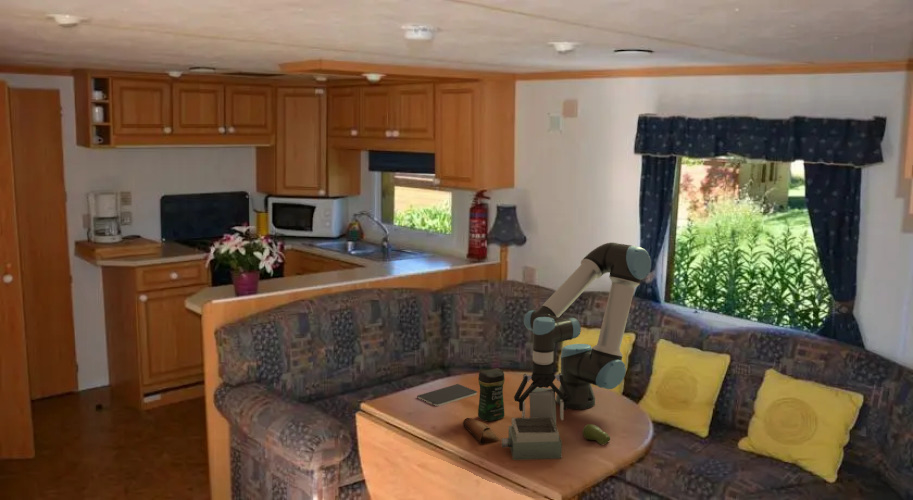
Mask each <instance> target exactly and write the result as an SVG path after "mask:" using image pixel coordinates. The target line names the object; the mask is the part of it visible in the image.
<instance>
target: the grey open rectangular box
mask: <svg viewBox="0 0 913 500" xmlns="http://www.w3.org/2000/svg"><path fill="white" fill-rule="evenodd" d="M562 443H563V440H562V439H561V437H560V432H559V429H558V427H557V424H556V425H555V422H554V420H553V418H552V417H530V416H528V417H526V416H525V417H522V416H521V417H511V425H509V426H508V437H503V438H501V447H502V448H510V449H509V450H510V453H511V457H512V460H513V461H517V460H519V461H521V460H523V461H525V460H554V459H555V460H558V459H559V460H560V459H562V456H563V455H562V453H563V452H562V451H563V450H562V448H563V446H562V445H563V444H562Z"/></svg>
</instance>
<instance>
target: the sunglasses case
mask: <svg viewBox="0 0 913 500" xmlns="http://www.w3.org/2000/svg"><path fill="white" fill-rule="evenodd" d="M462 425H463V427H465V429H466V430H467V431H469V433H470V434H471V435H472V436H473V437H474V438H475V439H476V440H477V442H479V444H481V445H482V446H483V445H489V444H494V443H499V442H502V439H501V438H500V437H499V436H498V435H497V434H496V433H495V431H493V430H492V428H491V427H490V426H489V425H488V424H487V423H486V422H482V421H479V420H477V419H475V418H471V417H466V418H465V419H464V420H463V422H462Z"/></svg>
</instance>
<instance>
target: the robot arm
mask: <svg viewBox="0 0 913 500" xmlns="http://www.w3.org/2000/svg"><path fill="white" fill-rule="evenodd" d="M651 269H652V260H651V256H650V254H649V252H648V251H647V250H646V249H645V248H642V247H639V246H637V245H632V244H623V243H618V242H607V243H604V244H601V245H599V246H597V247H596V248H594V249H592V250H591V251H590V252H589V253H588V254H586V255H585V257H584V258H582V259H581V261H580V265H579V267H577V269H576V270H574V272H573V273H572V274H571V275H570V276H569V277H568V278H567V279H566V280H565V281H564V282H563V283H562V284H561V285H560V286H559V287H558V288H557V289H556V291H554V292H553V293H552V294H551V296H549V297H548V299H547V300H546V301H545V302H544V303H543V304H542V305H541V306H540V307H539V308H538V309H537V310H536V309H535V310H529V311H527V312H526V313H525V316H524V317H523V324H524V326H525V328H526V329H527V330H529V331H530V332H532V367H531V368H532V373H531V374H527V373H524V374H523V376H522V381H521V382H520V384H519V387H518V388H517V390H516V393H515V395H514V396H513V399H514V401H515V402H518V407H519V408H518V410H519V412H521V417H526V402H525V401H526V400H527V398H528V397H529V393H531V392H532V391H533V390H534V389H536V387H537V388H549V387H550V388H551V389H553V390H554V391H555V403H556V404H557V405H558V406H559V418H560V420H561V421H564V411H567V409H569V410H585V409H590V408H592V407H594V406H595V405H596V396H595V393H594V390H593V386H597V387H599V388H601V389H606V390H613V389H616V388H617V387H618V386H619V385H621V384H622V382H623V380H624V378H625V377H626V373H627V372H626V371H627V368H626V364H625V362H623V361H622V359H623V355H624V354H623V353H622V351H621V345H622V343H623V339H624V334H625V329H626V325H627V322H628V317H629V313H630V309H631V304H632V300H633V298H634V297H633V296H634V292H635V289H636V287H638V286H640V284H641V283H642V282H641V281H642V280H644V279H646V278H647V277H648V275H650V272H651ZM608 273H609V280H610V281H611V286H610V290H609V294H608V298H607V301H606V306H605V310H604V315H603V319H602V322H601V326H600V332H599V335H598V339H597V343H596V344H595V345H594V346H592V345H591V344H586V343H574V344H573V343H572V344H568V345H565V346H563V347H562V348H561V351H560V352H561V354H560V372H559V373H558V374H555V363H554V362H555V344H557V343H561V342H566V341H571V340H573V339H576V338H579V336H580V335H581V332H582V329H581V328H582V326H581V323H580V322H579V320H578V319H577V318H576V317H566V318H562V317H560V316H562V314H564V313H565V311H567V309H569V307H570V306H572V304H573V303H574V302H575V301H576V300H577V299H578V298H579V297H580V296H581V294H583V292H585V290H586V289H587V288H588V287H589V286H590V285H591V284H592V283H593V282H594V281H595V280H596V279H600V278H601V277H602V276H603V275H605V274H608ZM530 380H531V381H532V382H531V383H530V385H529V386H528V387H527V388H526V386H527V384H528V382H530ZM555 380H557V381H558V382H559V383H560V384H559V387H557V386H556V385H555V383H554V381H555ZM592 385H593V386H592ZM525 388H526V390H525V391H524V389H525Z"/></svg>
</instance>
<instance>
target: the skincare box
mask: <svg viewBox="0 0 913 500" xmlns="http://www.w3.org/2000/svg"><path fill="white" fill-rule="evenodd" d="M528 397H529V398H528V399H529V417H552V418H553V420H554V422H555V425H556V426H557V411H556V410H557V408H556V404H557V403H556V392H555V391H554V390H553V389H552V388H551V387H550V388H549V387H548V388H545V387H542V388H539V387H536V389H534V390H533V391H532V392H531V393H529V396H528Z"/></svg>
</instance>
